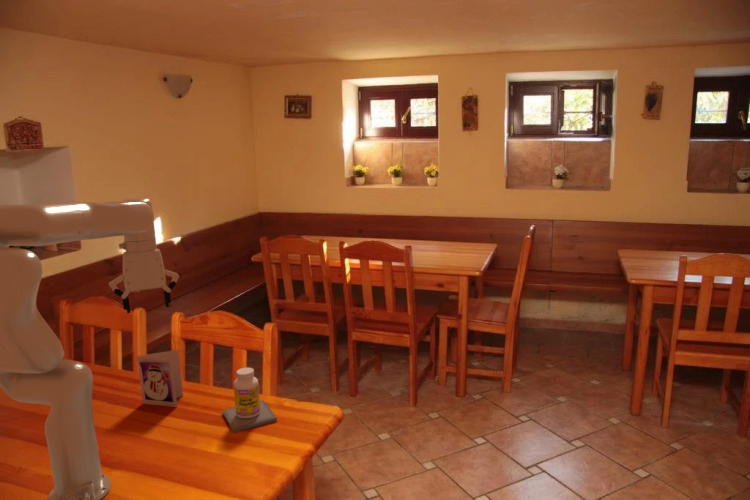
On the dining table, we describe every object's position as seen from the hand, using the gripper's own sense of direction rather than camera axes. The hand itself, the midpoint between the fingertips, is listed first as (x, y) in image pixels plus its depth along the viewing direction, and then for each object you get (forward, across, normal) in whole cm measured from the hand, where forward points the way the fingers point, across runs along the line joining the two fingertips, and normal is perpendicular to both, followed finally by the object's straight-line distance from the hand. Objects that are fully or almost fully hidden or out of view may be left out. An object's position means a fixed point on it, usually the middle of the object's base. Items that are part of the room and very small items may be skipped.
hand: (147, 309), depth 158 cm
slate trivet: (+33, +22, -10) cm, 41 cm away
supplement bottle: (+32, +22, -10) cm, 40 cm away
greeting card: (+33, +3, +13) cm, 35 cm away
